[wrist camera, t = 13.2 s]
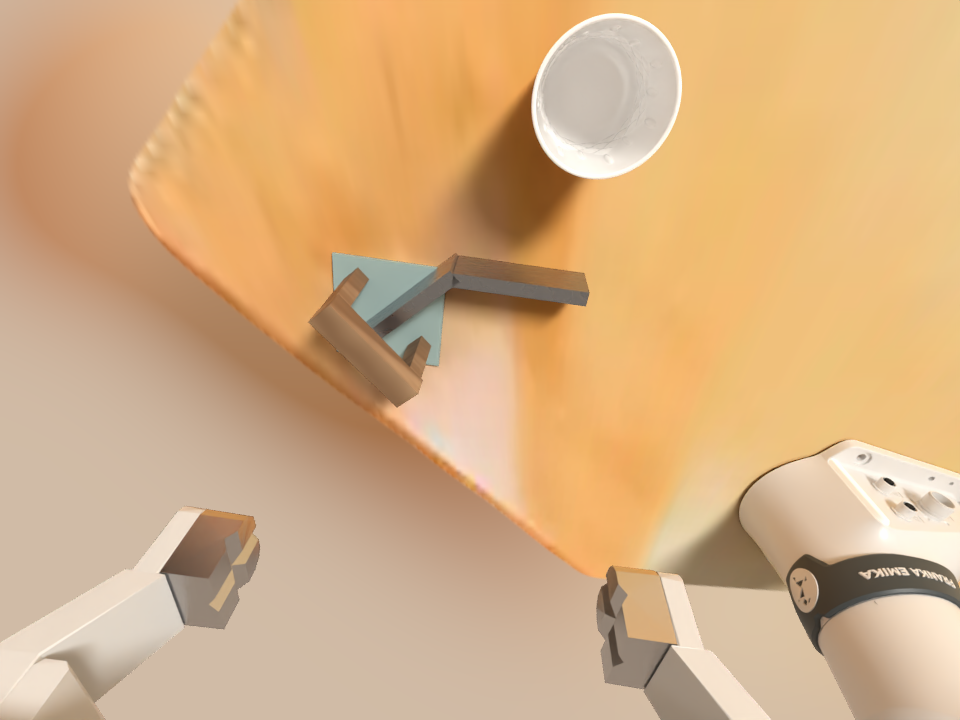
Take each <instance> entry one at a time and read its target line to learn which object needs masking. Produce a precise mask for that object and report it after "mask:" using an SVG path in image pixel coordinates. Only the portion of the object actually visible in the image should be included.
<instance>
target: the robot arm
mask: <svg viewBox="0 0 960 720" xmlns="http://www.w3.org/2000/svg"><path fill="white" fill-rule="evenodd" d="M739 518H740V522H741V525H742V527H743V528H744V530H745V531H746V532H747V533H748V534H749V535H750V536H751V538H752V539H753V540H754V541H755V542H756V544H757V545H758V546H759V547H760V549H761V550H762V552H763V554H764V555H765V557H766V559H767V560H768V562H769V563H771V564H772V566H773V567H774V569H775V570H776V572H777V573H778V575H779V576H780V578H781V580H782V581H783V583H784V584H785V586H786V587H787V589H788V590H789V593H790V595H791V599H792V601H793V604H794V607H795V610H796V612H797V615H798V616H799V619H800V621H801V623H802V625H803V626H804V629H805V630H806V633H807V635H808V637H809V639H810V640H811V642H812V644H813V645H814V647H815V649H816V650H817V651H818V652H819V653H821V654H822V655H823V656H824V657H825V659H826V661H827V663H828V665H829V667H830V669H831V671H832V673H833V675H834V677H835V679H836V681H837V683H838V685H839V687H840V689H841V691H842V693H843V695H844V697H845V699H846V701H847V703H848V705H849V708H850V709H851V712H852V714H853V715H854V718H855V720H960V587H959V585H958V582H959V581H960V474H959V473H956V472H953V471H949V470H946V469H943V468H940V467H937V466H934V465H931V464H928V463H925V462H922V461H919V460H915V459H912V458H909V457H906V456H903V455H900V454H897V453H894V452H891V451H888V450H885V449H881V448H878V447H875V446H872V445H869V444H866V443H863V442H860V441H857V440H846V441H843V442H840V443H838V444H836V445H834V446H832V447H830V448H829V449H827V450H825V451H824V452H822V453H820V454H818V455H815V456H812V457H809V458H805V459H801V460H797V461H794V462H791V463H788V464H786V465H783V466H781V467H779V468H777V469H775V470H773V471H771V472H770V473H768V474H766V475H765V476H763V477H762V478H761V479H759V480H758V481H757V482H756V483H755V484H754V485H753V486H752V487H751V488H750V489H749V490H748V492H747V493H746V494H745V496H744V498H743V500H742V502H741V505H740V509H739ZM255 527H256V524H255V520H254V517H253V516H246V515H240V514H234V513H228V512H221V511H215V510H209V509H202V508H196V507H188V506H184V507H183V508H181V509H180V510H179V511H178V512H176V514H175V515H174V516H173V517H172V519H171V520H170V522H169V523H168V524H167V525H166V527H165V528H164V529H163V531H162V532H161V533H160V534H159V536H158V537H157V538H156V540H155V541H154V542H153V544H152V545H151V546H150V547H149V549H148V550H147V551H146V553H145V554H144V555H143V557H142V558H141V559H140V561H139V562H138V563H137V565H136V566H135V567H134V568H133V569H125V570H123V571H121V572H120V573H118V574H116V575H114V576H113V577H111V578H109V579H108V580H106V581H104V582H103V583H101V584H99V585H98V586H96V587H94V588H93V589H91V590H89V591H87V592H86V593H84V594H82V595H80V596H79V597H77V598H75V599H74V600H72V601H70V602H69V603H67V604H65V605H63V606H62V607H60V608H58V609H57V610H55V611H53V612H51V613H50V614H48V615H46V616H45V617H43V618H41V619H39V620H38V621H36V622H34V623H33V624H31V625H29V626H28V627H26V628H24V629H23V630H21V631H19V632H17V633H16V634H14V635H12V636H11V637H9V638H7V639H6V640H4V641H2V642H0V720H105V718H104V717H103V715H102V714H101V712H100V711H99V709H98V708H97V706H96V705H95V702H96V701H97V700H98V699H100V698H101V697H102V696H103V695H104V694H106V693H107V692H108V691H109V690H110V689H112V688H113V687H114V686H115V685H116V684H117V683H119V682H120V681H121V680H122V679H123V678H125V677H126V676H127V675H128V674H130V673H131V672H132V671H133V670H134V669H136V668H137V667H138V666H139V665H140V664H142V663H143V662H144V661H145V660H146V659H147V658H149V657H150V656H151V655H152V654H153V653H155V652H156V651H157V650H158V649H159V648H161V647H162V646H163V645H164V644H165V643H167V641H169V640H170V639H171V638H173V637H174V636H175V635H176V634H177V633H179V632H180V631H181V630H182V629H183V628H184V627H185V626H184V625H189V626H199V627H209V628H216V629H224V628H225V626H226V624H227V623H228V621H229V619H230V617H231V615H232V613H233V611H234V609H235V607H236V605H237V604H238V602H239V596H238V591H237V590H238V589H239V588H241V587H242V586H243V585H245V584H246V583H248V582H249V581H250V579H251V577H252V575H253V573H254V571H255V568H256V565H257V562H258V558H259V551H260V544H259V539H258V538H257V537H256V536H255V535H254V534H253V530H254V529H255ZM606 577H607V584H605V585H604V586H602V587H601V589H600V592H599V595H598V600H597V608H596V609H597V625H598V631H599V632H600V633H601V635H602V636H603V637H604V639H605V642H604V644H603V647H602V649H601V656H602V664H603V671H604V679H605V683H610V684H615V685H621V686H628V687H634V688H639V689H645V690H644V693H645V695H646V696H647V698H648V699H649V701H650V703H651V704H652V706H653V707H654V709H655V711H656V712H657V714H658V716H659V717H660V719H661V720H771V719H770V718H769V716H768V715H767V714H766V713H765V712H764V711H763V710H762V709H761V707H760V706H759V705H758V704H757V703H756V701H755V700H754V699H753V698H752V697H751V696H750V695H749V693H748V692H747V691H746V690H745V689H744V688H743V687H742V685H741V684H740V683H739V682H738V681H737V680H736V679H735V677H734V676H733V675H732V674H731V673H730V672H729V670H727V668H726V667H725V666H724V665H723V664H722V663H721V661H720V660H719V659H718V658H717V657H716V656H715V654H714V653H713V652H712V651H710V650H705V649H704V647H703V644H702V640H701V637H700V634H699V631H698V627H697V624H696V621H695V618H694V615H693V611H692V608H691V605H690V602H689V599H688V595H687V592H686V589H685V585H684V582H683V579H682V578H681V577H680V575H677V574H671V573H662V572H655V571H653V570H645V569H636V568H628V567H620V566H611V567H610V568H609V569H608V572H607V574H606Z"/></svg>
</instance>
